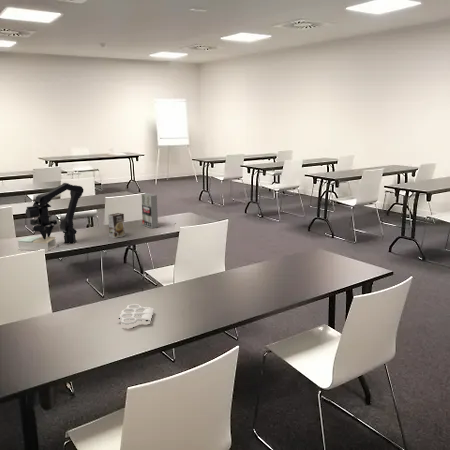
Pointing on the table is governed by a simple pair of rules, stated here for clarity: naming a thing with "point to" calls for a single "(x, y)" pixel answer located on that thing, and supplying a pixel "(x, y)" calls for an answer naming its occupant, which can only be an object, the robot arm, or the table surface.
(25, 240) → the lid outer
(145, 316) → the white flat holed piece
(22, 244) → the white tray
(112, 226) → the coffee box
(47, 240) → the lid inner
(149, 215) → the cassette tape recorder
